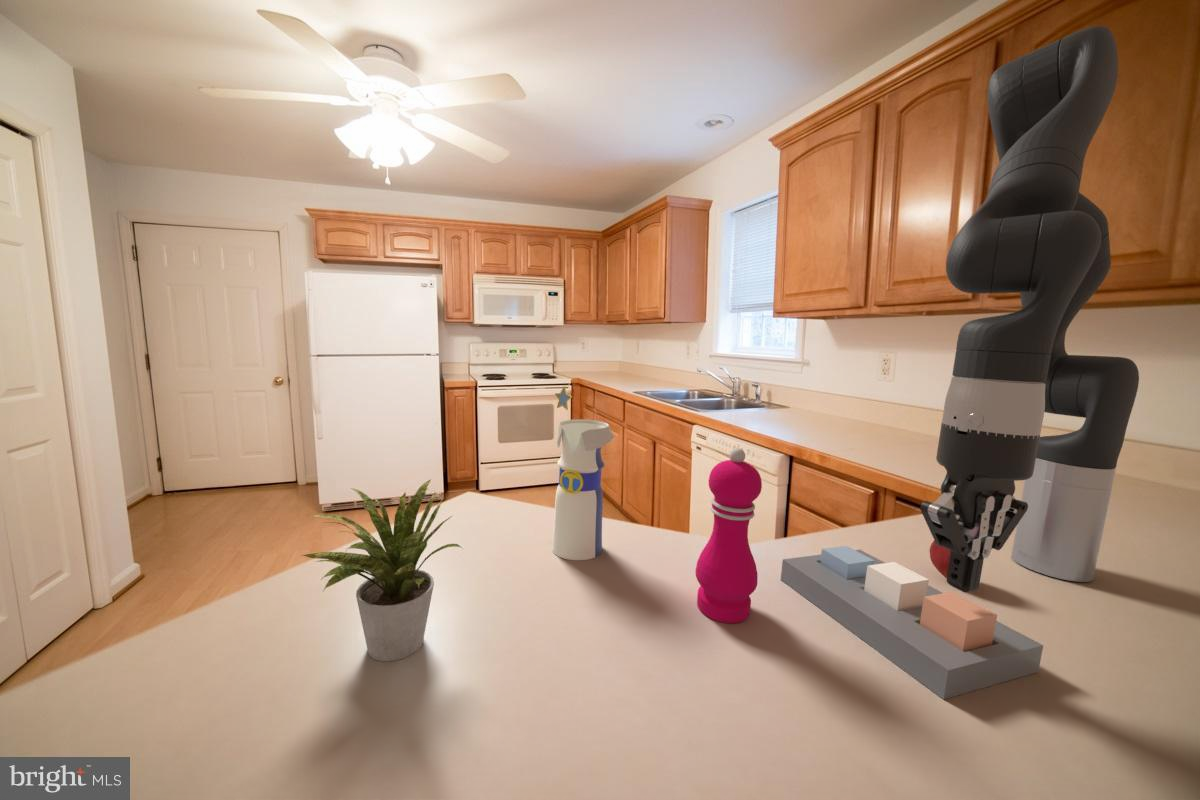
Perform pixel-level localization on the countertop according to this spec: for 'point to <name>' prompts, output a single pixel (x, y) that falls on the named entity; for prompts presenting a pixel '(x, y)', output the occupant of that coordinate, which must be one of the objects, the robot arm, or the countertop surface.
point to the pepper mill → (729, 542)
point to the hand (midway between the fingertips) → (961, 587)
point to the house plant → (389, 576)
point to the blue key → (845, 562)
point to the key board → (912, 633)
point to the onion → (940, 558)
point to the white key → (896, 585)
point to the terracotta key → (958, 621)
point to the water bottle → (579, 487)
